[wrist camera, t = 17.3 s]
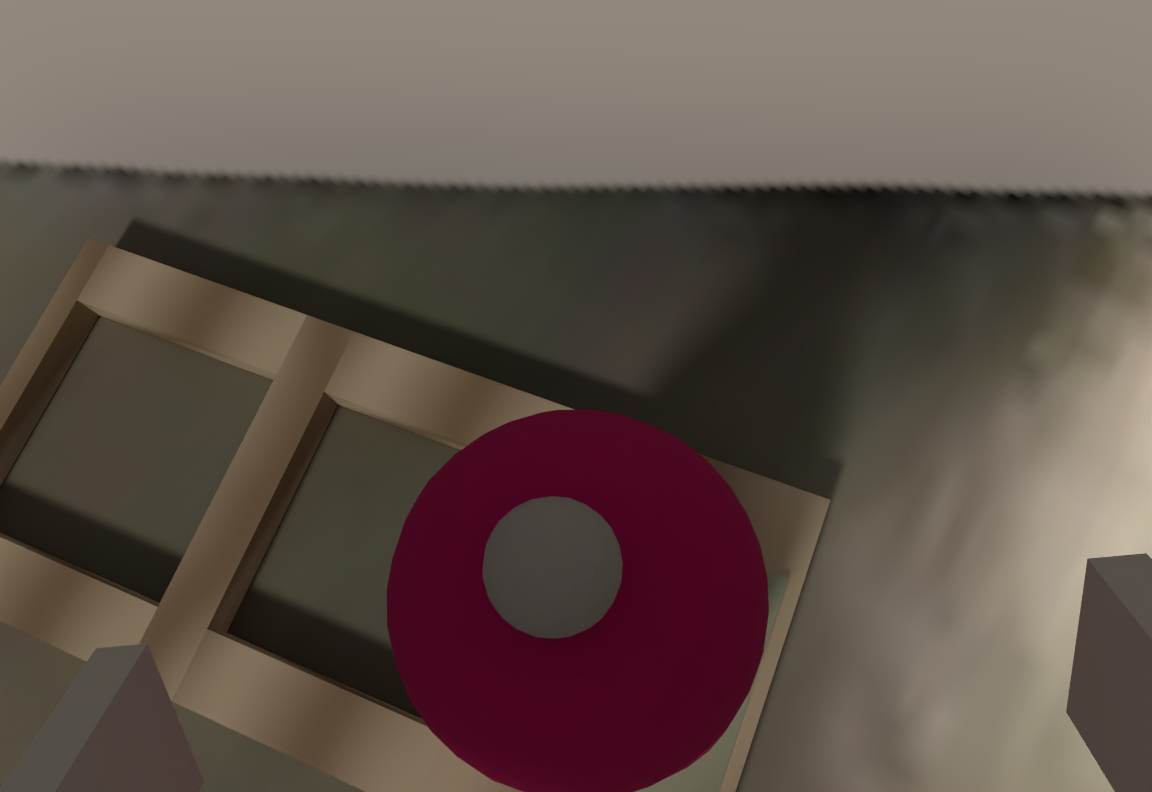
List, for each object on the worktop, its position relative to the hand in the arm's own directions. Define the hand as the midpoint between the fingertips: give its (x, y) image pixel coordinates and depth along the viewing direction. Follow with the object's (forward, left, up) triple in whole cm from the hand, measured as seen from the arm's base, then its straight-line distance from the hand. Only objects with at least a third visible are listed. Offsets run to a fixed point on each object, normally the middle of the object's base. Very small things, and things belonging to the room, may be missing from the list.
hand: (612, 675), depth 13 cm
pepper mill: (-1, +1, -17) cm, 17 cm away
